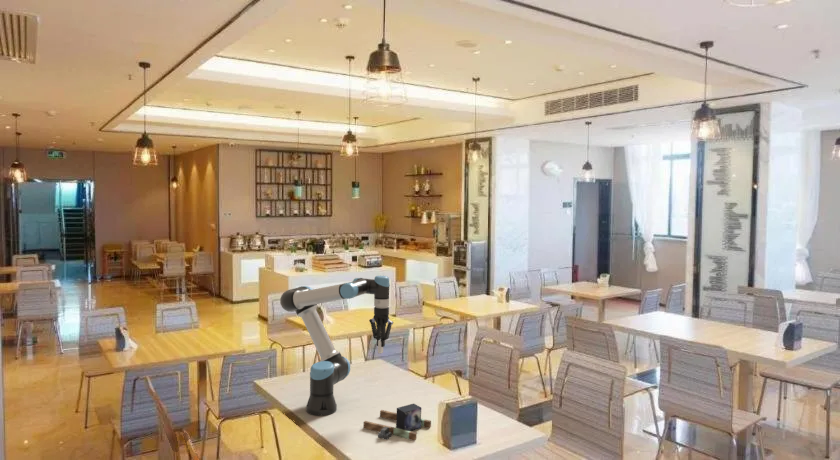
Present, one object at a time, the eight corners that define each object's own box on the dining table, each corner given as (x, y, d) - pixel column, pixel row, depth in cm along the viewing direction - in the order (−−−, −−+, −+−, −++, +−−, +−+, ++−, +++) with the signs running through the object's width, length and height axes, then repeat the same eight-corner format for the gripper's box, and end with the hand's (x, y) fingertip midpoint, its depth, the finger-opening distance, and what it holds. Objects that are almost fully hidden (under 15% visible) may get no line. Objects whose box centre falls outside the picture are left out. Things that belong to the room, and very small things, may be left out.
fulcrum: (377, 437, 262) (377, 428, 261) (382, 434, 265) (382, 425, 265) (387, 439, 260) (387, 431, 259) (391, 436, 263) (391, 427, 263)
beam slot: (363, 428, 271) (363, 421, 271) (381, 415, 287) (381, 409, 286) (414, 440, 260) (415, 433, 259) (430, 426, 275) (431, 420, 275)
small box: (403, 434, 266) (404, 412, 265) (395, 429, 271) (395, 407, 270) (421, 428, 273) (422, 407, 272) (412, 424, 278) (413, 402, 277)
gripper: (366, 306, 290) (365, 352, 292) (389, 309, 285) (388, 356, 286) (374, 304, 297) (373, 349, 299) (396, 306, 291) (395, 352, 293)
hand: (380, 352), depth 293 cm, fingers closed
